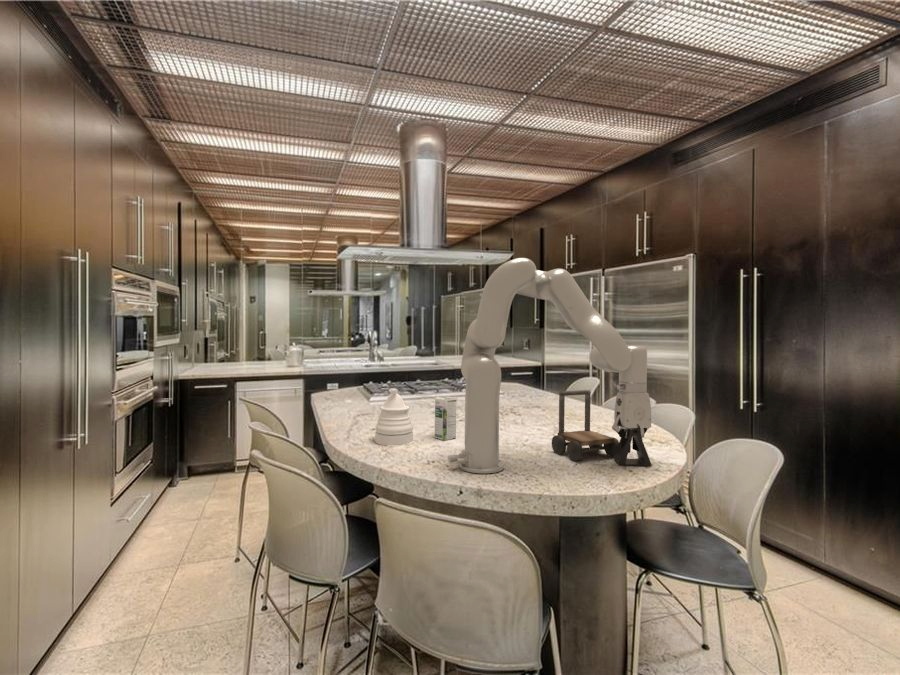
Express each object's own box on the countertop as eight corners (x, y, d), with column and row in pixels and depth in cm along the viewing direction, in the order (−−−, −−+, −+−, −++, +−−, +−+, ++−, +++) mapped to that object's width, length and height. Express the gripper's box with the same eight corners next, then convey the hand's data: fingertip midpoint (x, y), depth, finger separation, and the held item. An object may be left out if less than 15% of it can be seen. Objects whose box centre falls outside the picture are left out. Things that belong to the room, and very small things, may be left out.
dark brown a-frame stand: (618, 465, 131) (618, 423, 131) (613, 459, 137) (613, 419, 137) (651, 465, 130) (651, 423, 130) (644, 460, 136) (644, 419, 136)
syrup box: (433, 438, 163) (433, 397, 163) (445, 435, 167) (446, 395, 167) (444, 441, 159) (444, 399, 159) (456, 438, 163) (457, 397, 163)
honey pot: (411, 446, 152) (411, 391, 151) (372, 445, 152) (372, 391, 152) (414, 437, 164) (414, 386, 164) (378, 436, 165) (379, 386, 164)
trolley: (578, 463, 133) (579, 397, 133) (551, 451, 146) (552, 391, 146) (620, 458, 139) (621, 394, 139) (591, 447, 152) (591, 389, 151)
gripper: (618, 390, 127) (617, 457, 127) (664, 388, 133) (663, 451, 133) (600, 387, 134) (599, 450, 134) (644, 385, 140) (643, 445, 140)
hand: (631, 450), depth 134 cm, fingers closed on dark brown a-frame stand, 3 cm apart
